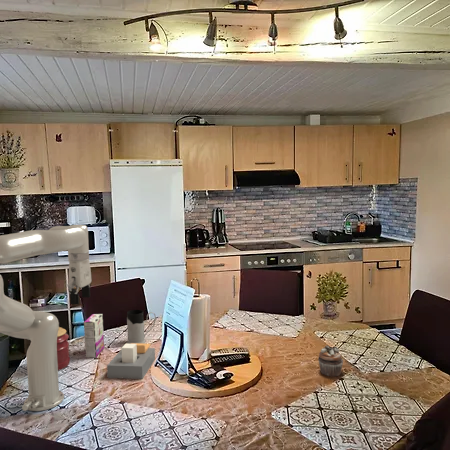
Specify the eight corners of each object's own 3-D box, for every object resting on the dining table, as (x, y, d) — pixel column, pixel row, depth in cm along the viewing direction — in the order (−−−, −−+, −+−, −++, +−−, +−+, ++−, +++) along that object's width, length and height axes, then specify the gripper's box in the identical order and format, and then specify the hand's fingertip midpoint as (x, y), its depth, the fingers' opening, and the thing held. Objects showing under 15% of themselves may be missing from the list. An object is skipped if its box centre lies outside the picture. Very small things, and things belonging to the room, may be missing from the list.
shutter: (144, 353, 167) (144, 345, 166) (124, 352, 168) (124, 344, 167) (150, 345, 175) (150, 338, 175) (130, 344, 176) (130, 337, 176)
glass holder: (125, 340, 195) (124, 310, 193) (153, 336, 201) (153, 306, 199) (128, 347, 187) (127, 315, 185) (158, 342, 193) (157, 311, 191)
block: (133, 371, 159) (132, 348, 158) (122, 371, 160) (121, 347, 159) (137, 366, 164) (136, 343, 163) (126, 366, 164) (125, 343, 163)
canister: (57, 374, 160) (55, 331, 159) (29, 371, 163) (26, 329, 161) (76, 360, 173) (74, 320, 171) (49, 358, 175) (47, 319, 174)
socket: (142, 378, 155) (142, 366, 154) (107, 377, 156) (107, 365, 156) (155, 359, 173) (154, 348, 172) (123, 358, 174) (123, 347, 174)
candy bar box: (93, 348, 186) (92, 313, 185) (104, 348, 186) (103, 313, 185) (84, 358, 175) (83, 321, 173) (96, 358, 175) (94, 321, 173)
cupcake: (315, 374, 157) (315, 349, 156) (321, 364, 165) (321, 341, 164) (340, 379, 152) (340, 354, 151) (345, 369, 161) (345, 345, 160)
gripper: (77, 260, 145) (79, 307, 147) (97, 253, 162) (99, 294, 164) (57, 260, 146) (60, 306, 147) (79, 253, 163) (81, 294, 164)
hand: (80, 300), depth 156 cm, fingers open, 9 cm apart
